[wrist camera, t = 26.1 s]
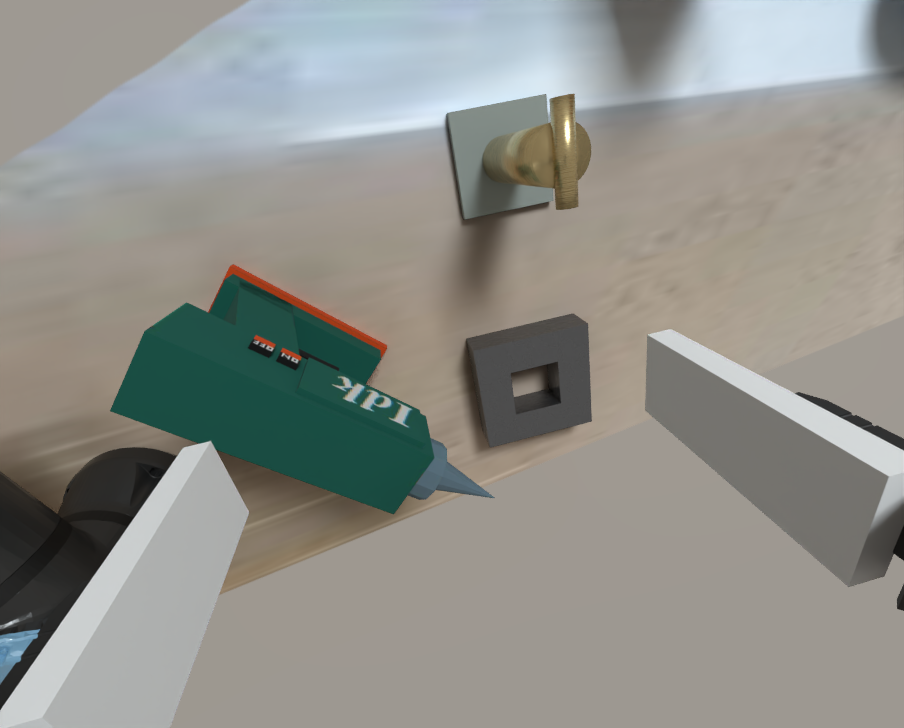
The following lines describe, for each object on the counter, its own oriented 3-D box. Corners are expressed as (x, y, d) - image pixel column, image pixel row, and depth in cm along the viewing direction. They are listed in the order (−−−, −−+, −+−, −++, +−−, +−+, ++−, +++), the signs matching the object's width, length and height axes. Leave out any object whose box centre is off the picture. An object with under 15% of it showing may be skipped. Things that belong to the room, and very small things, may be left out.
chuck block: (482, 430, 58) (489, 447, 54) (466, 338, 52) (473, 350, 48) (578, 406, 59) (591, 421, 55) (573, 313, 53) (587, 323, 49)
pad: (463, 218, 46) (465, 219, 45) (446, 114, 41) (448, 112, 40) (549, 200, 46) (553, 200, 46) (542, 95, 42) (546, 94, 41)
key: (487, 199, 44) (542, 214, 30) (477, 125, 41) (534, 100, 27) (526, 191, 45) (600, 202, 30) (520, 117, 42) (599, 88, 27)
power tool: (478, 389, 55) (529, 493, 37) (449, 429, 57) (484, 547, 39) (235, 259, 44) (138, 319, 26) (208, 315, 45) (100, 407, 27)
